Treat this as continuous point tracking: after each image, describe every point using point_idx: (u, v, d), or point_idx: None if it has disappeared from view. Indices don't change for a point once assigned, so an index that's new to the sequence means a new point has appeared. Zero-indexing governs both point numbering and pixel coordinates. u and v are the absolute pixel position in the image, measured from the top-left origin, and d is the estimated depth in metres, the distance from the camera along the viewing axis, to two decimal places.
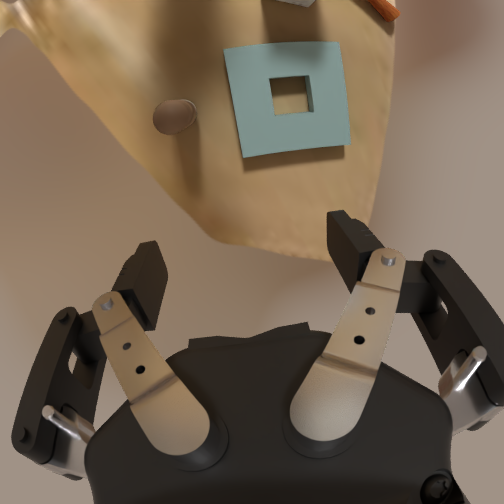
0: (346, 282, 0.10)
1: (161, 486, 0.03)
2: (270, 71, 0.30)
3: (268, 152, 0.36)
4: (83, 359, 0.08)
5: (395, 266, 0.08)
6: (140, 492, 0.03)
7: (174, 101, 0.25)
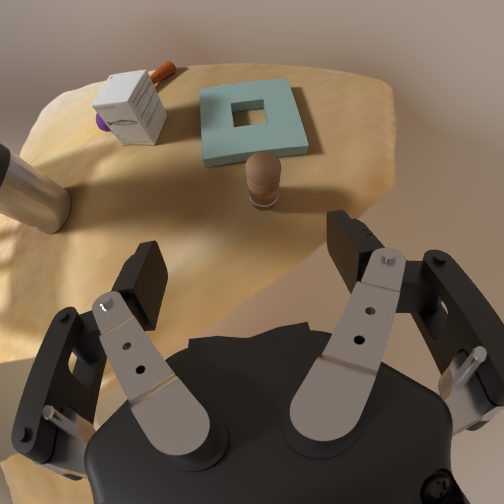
0: (346, 282, 0.10)
1: (161, 486, 0.03)
2: (227, 126, 0.39)
3: (302, 127, 0.39)
4: (83, 359, 0.08)
5: (395, 266, 0.08)
6: (140, 492, 0.03)
7: (247, 162, 0.30)
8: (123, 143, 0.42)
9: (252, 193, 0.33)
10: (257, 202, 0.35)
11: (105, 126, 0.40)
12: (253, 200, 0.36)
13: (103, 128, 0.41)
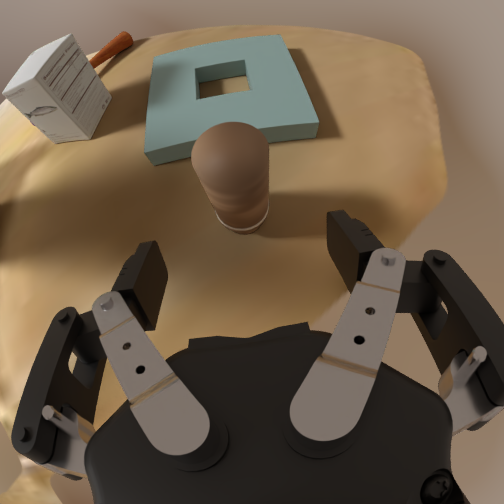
0: (346, 282, 0.10)
1: (161, 486, 0.03)
2: (186, 99, 0.23)
3: (306, 95, 0.22)
4: (83, 359, 0.08)
5: (395, 266, 0.08)
6: (140, 492, 0.03)
7: (196, 144, 0.13)
8: (54, 141, 0.26)
9: (216, 208, 0.17)
10: (229, 224, 0.19)
11: None
12: (222, 220, 0.19)
13: None
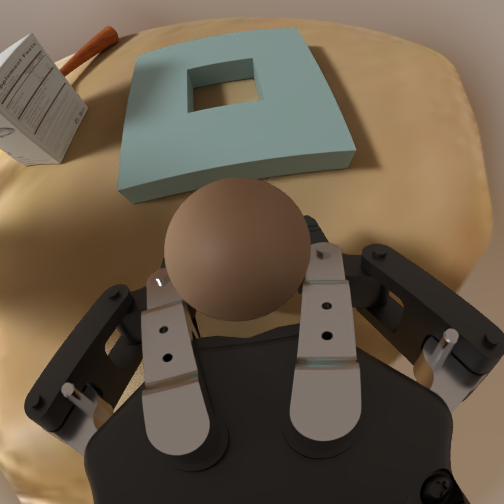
0: None
1: (161, 486, 0.03)
2: (175, 112, 0.17)
3: (337, 110, 0.17)
4: (126, 339, 0.09)
5: (328, 259, 0.08)
6: (126, 499, 0.03)
7: (173, 226, 0.07)
8: (23, 163, 0.20)
9: None
10: None
11: None
12: None
13: None
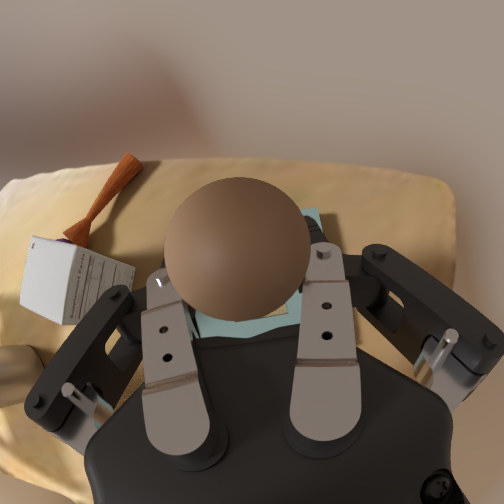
0: None
1: (161, 486, 0.03)
2: None
3: None
4: (126, 339, 0.09)
5: (328, 259, 0.08)
6: (125, 499, 0.03)
7: (173, 226, 0.07)
8: None
9: None
10: None
11: None
12: None
13: None
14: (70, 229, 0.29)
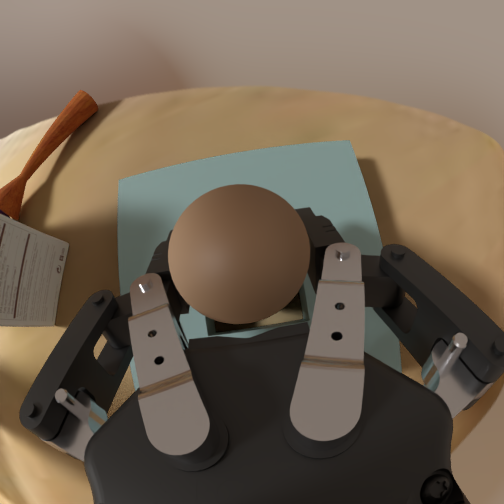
0: (310, 276, 0.11)
1: (161, 486, 0.03)
2: (190, 331, 0.14)
3: None
4: (112, 344, 0.09)
5: (348, 260, 0.08)
6: (130, 497, 0.03)
7: (176, 232, 0.08)
8: None
9: None
10: None
11: None
12: None
13: None
14: None
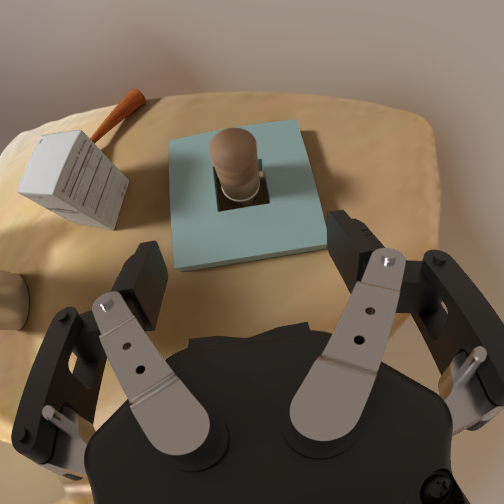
0: (346, 282, 0.10)
1: (161, 486, 0.03)
2: (208, 210, 0.28)
3: (320, 210, 0.28)
4: (83, 359, 0.08)
5: (395, 266, 0.08)
6: (140, 492, 0.03)
7: (212, 141, 0.21)
8: (76, 223, 0.31)
9: (223, 184, 0.25)
10: (231, 196, 0.27)
11: None
12: (226, 193, 0.28)
13: None
14: None
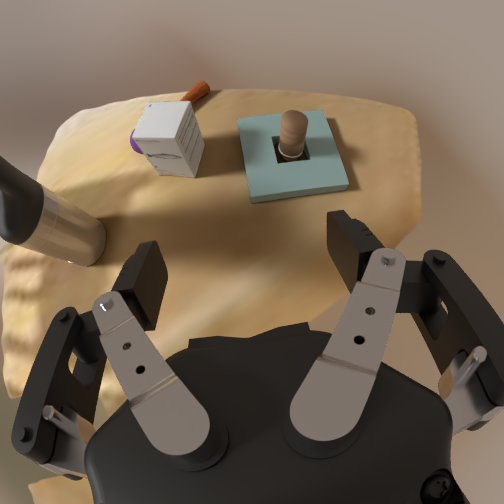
0: (346, 282, 0.10)
1: (161, 486, 0.03)
2: (271, 162, 0.42)
3: (342, 165, 0.41)
4: (83, 359, 0.08)
5: (395, 266, 0.08)
6: (140, 492, 0.03)
7: (282, 117, 0.35)
8: (160, 173, 0.45)
9: (284, 144, 0.39)
10: (287, 153, 0.41)
11: None
12: (283, 152, 0.41)
13: (139, 151, 0.44)
14: None
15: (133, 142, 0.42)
